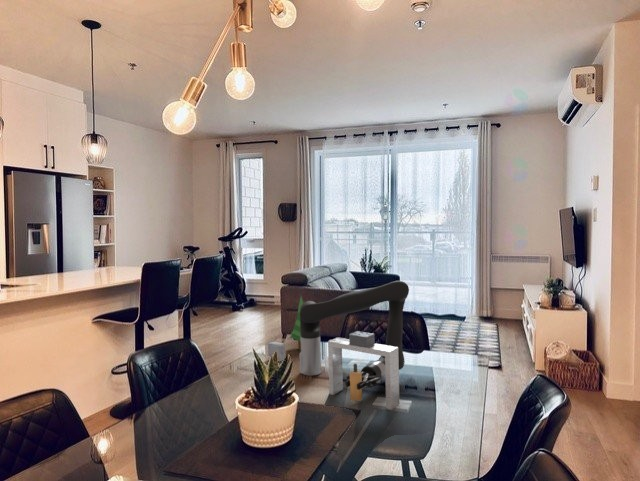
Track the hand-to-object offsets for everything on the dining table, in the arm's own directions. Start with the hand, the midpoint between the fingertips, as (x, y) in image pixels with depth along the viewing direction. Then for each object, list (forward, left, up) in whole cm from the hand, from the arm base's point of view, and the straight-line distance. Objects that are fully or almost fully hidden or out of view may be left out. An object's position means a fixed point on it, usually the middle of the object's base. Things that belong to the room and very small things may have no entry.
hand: (352, 385), depth 173 cm
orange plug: (0, +3, -6) cm, 7 cm away
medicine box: (-57, +37, -8) cm, 68 cm away
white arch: (+1, +8, -8) cm, 11 cm away
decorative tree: (-54, +59, -8) cm, 80 cm away
